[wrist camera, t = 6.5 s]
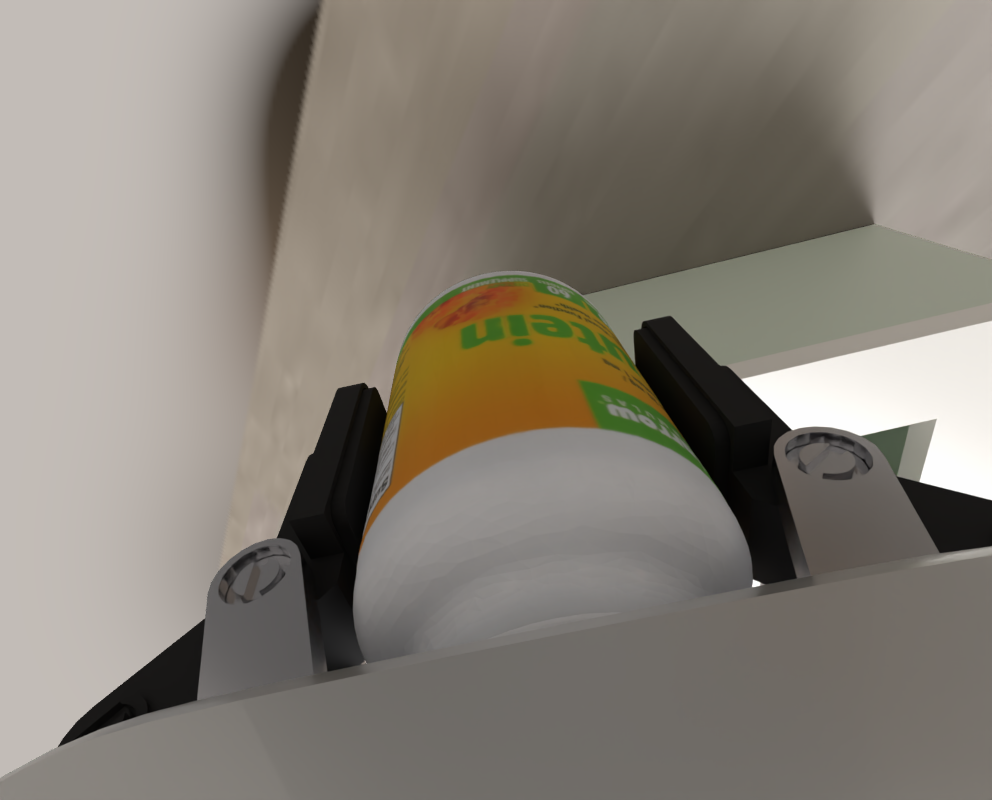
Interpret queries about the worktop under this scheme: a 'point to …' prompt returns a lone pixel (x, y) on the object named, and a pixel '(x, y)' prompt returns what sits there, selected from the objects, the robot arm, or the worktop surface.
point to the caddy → (848, 342)
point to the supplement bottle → (529, 479)
